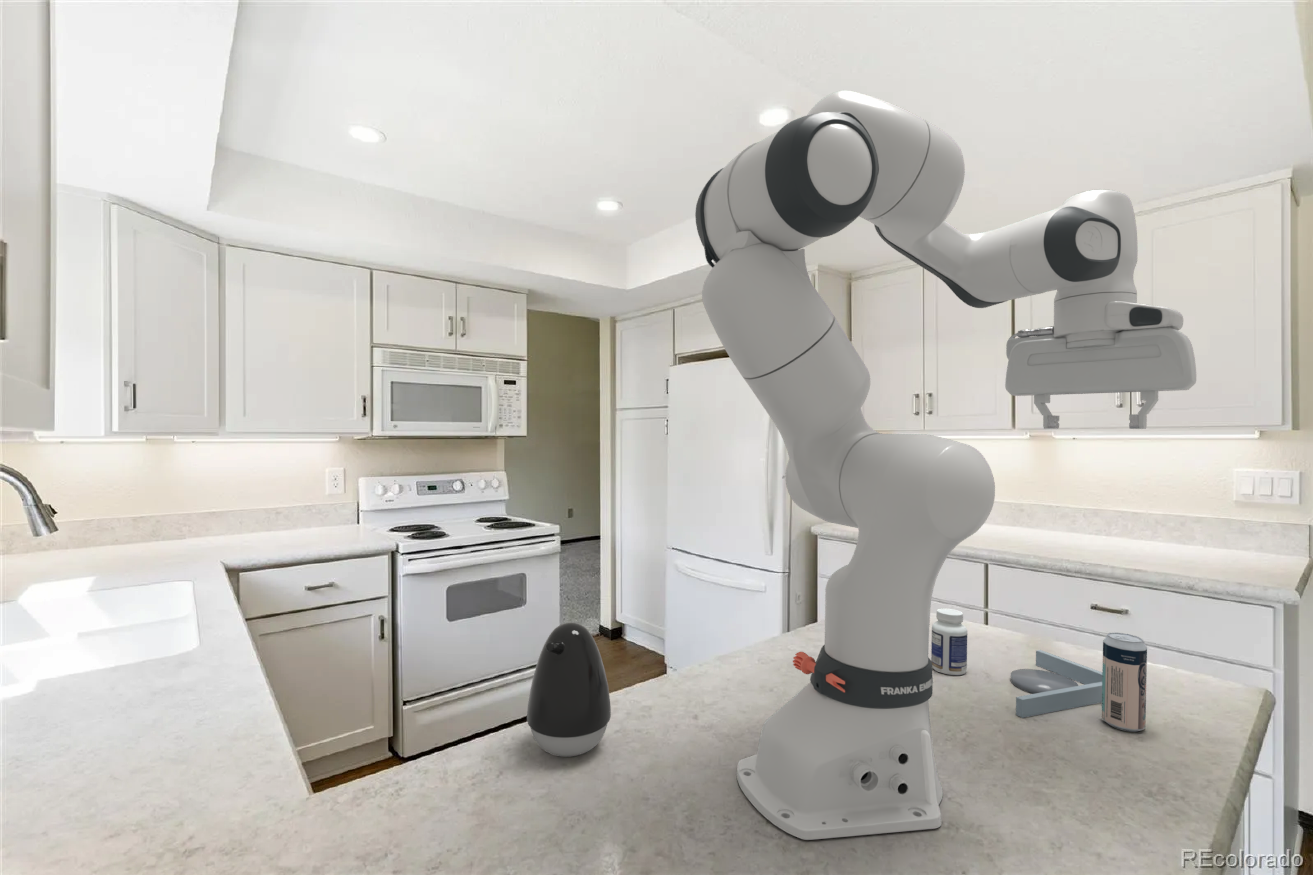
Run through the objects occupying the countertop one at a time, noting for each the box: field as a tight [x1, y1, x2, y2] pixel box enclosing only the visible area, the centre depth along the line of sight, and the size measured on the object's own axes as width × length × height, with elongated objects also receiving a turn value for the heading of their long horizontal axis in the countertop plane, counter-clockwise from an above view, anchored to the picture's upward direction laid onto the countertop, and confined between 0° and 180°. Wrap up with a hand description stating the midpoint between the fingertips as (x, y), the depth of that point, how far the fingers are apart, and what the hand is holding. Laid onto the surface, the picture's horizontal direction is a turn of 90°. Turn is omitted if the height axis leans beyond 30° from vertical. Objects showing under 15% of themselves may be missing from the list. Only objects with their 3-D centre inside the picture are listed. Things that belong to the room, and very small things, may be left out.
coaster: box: [1010, 668, 1079, 694], centre depth 97 cm, size 9×9×1 cm
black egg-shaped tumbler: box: [526, 622, 612, 758], centre depth 77 cm, size 10×10×15 cm
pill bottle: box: [930, 607, 968, 676], centre depth 103 cm, size 5×5×10 cm
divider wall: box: [1015, 649, 1102, 719], centre depth 97 cm, size 24×14×2 cm, turn 110°
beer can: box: [1101, 632, 1148, 733], centre depth 84 cm, size 5×5×12 cm
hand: (1092, 428), depth 81 cm, fingers open, 8 cm apart
